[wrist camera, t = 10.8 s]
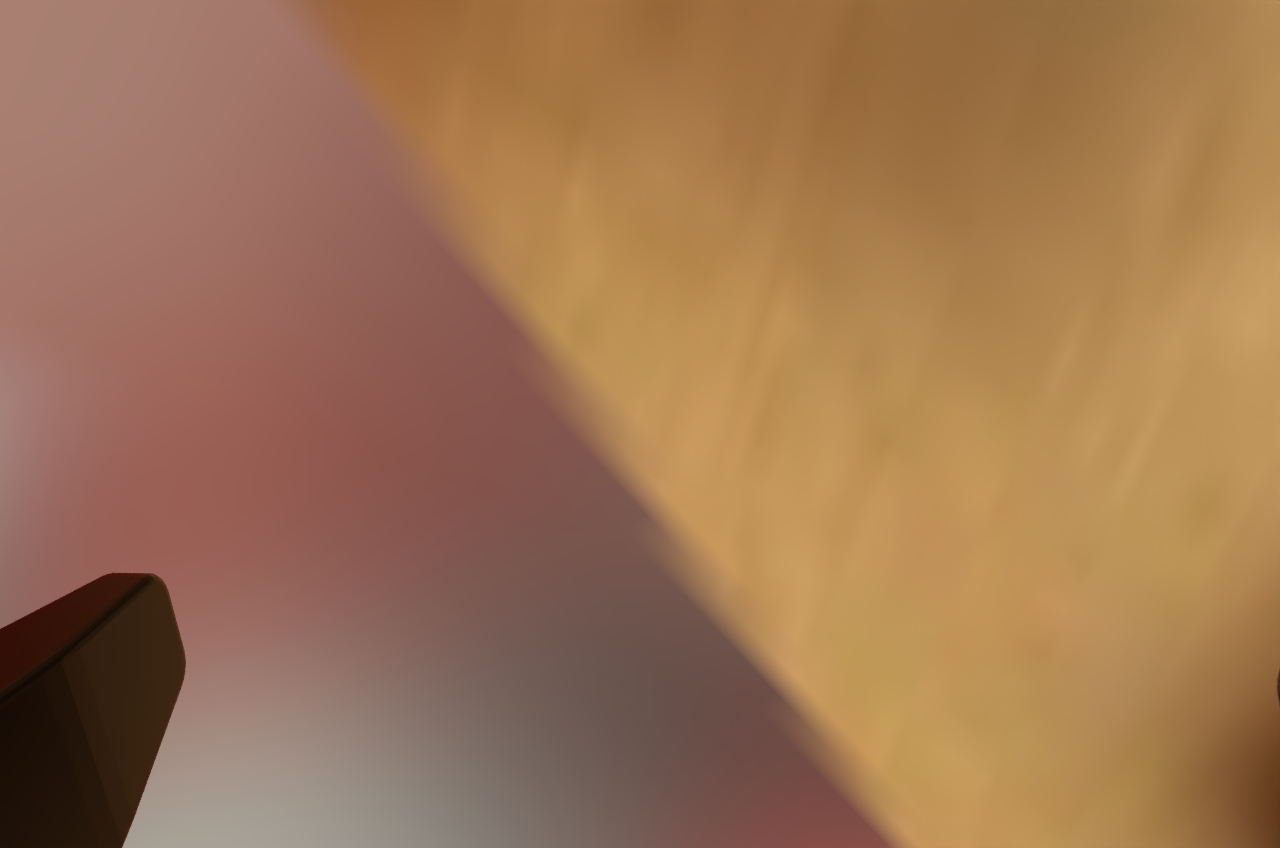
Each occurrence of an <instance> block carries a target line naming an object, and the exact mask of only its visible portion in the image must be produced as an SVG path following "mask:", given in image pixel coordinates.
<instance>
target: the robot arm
mask: <svg viewBox="0 0 1280 848" xmlns="http://www.w3.org/2000/svg"><path fill="white" fill-rule="evenodd" d="M185 661H186V660H185V652H184V647H183V643H182V640H181V637H180V632H179V629H178V625H177V621H176V618H175V614H174V610H173V606H172V603H171V599H170V595H169V592H168V589H167V586H166V584H165V583H164V581H163V580H162V579H161V578H160V577H158V576H157V575H155V574H151V573H111V574H106V575H104V576H102V577H100V578H98V579H96V580H94V581H92V582H90V583H88V584H86V585H84V586H82V587H80V588H78V589H76V590H75V591H73V592H71V593H69V594H67V595H65V596H63V597H61V598H59V599H57V600H55V601H53V602H52V603H50V604H48V605H46V606H44V607H42V608H40V609H38V610H36V611H34V612H32V613H30V614H28V615H26V616H24V617H22V618H21V619H19V620H17V621H15V622H13V623H11V624H9V625H7V626H5V627H3V628H1V629H0V848H122V846H123V844H124V842H125V839H126V837H127V834H128V832H129V829H130V827H131V824H132V822H133V819H134V817H135V814H136V811H137V808H138V806H139V803H140V800H141V797H142V794H143V792H144V789H145V786H146V784H147V780H148V778H149V775H150V773H151V770H152V767H153V764H154V761H155V759H156V756H157V753H158V750H159V747H160V745H161V742H162V739H163V736H164V734H165V731H166V728H167V726H168V723H169V720H170V717H171V714H172V712H173V709H174V706H175V703H176V701H177V698H178V695H179V692H180V690H181V686H182V684H183V680H184V675H185V667H186V662H185ZM1277 695H1278V701H1279V705H1280V669H1279V673H1278V679H1277Z"/></svg>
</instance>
